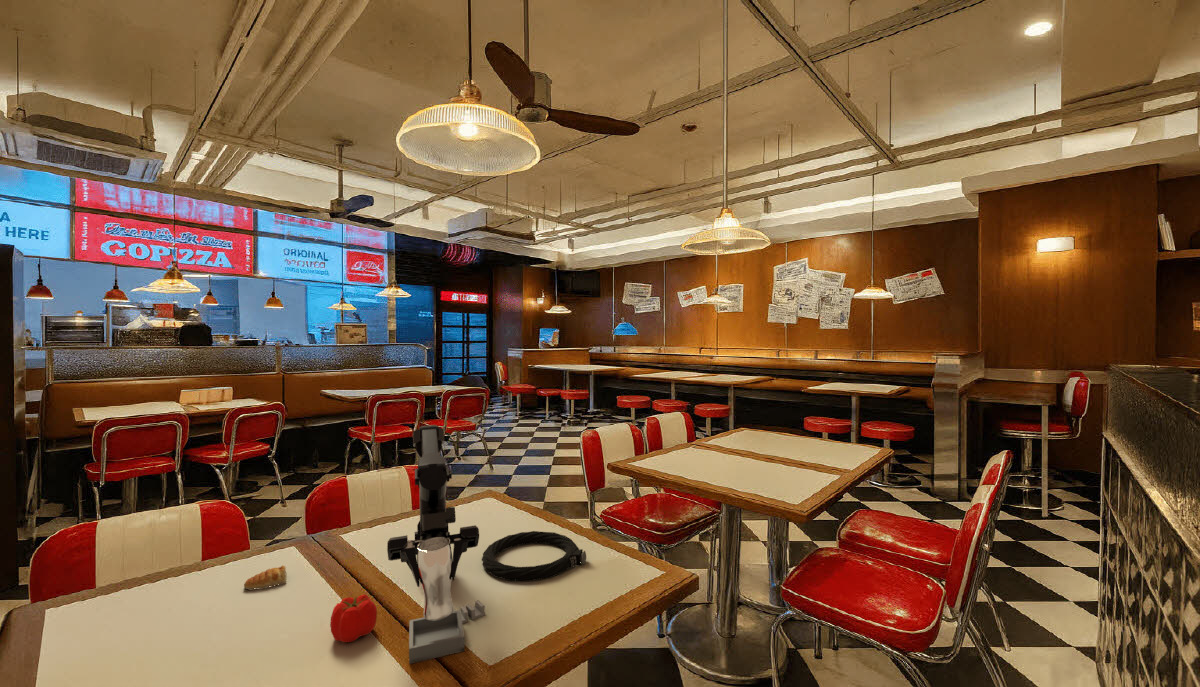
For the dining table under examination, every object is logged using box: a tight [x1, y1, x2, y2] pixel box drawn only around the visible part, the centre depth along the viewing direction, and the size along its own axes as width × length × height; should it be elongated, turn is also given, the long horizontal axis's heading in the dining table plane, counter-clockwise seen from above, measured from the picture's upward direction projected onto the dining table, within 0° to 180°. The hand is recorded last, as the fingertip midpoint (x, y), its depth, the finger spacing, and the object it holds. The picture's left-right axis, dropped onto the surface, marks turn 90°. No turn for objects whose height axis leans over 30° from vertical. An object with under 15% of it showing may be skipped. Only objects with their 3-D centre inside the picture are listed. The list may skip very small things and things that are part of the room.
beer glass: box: [416, 536, 455, 621], centre depth 102 cm, size 7×7×15 cm
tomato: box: [330, 594, 378, 643], centre depth 105 cm, size 9×9×8 cm
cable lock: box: [481, 530, 587, 582], centre depth 140 cm, size 28×4×30 cm
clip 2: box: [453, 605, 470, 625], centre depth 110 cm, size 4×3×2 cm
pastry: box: [243, 565, 288, 590], centre depth 128 cm, size 9×7×4 cm
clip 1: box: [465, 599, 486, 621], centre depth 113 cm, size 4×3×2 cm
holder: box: [408, 609, 465, 665], centre depth 102 cm, size 10×10×3 cm
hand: (436, 582), depth 101 cm, fingers closed on beer glass, 6 cm apart
